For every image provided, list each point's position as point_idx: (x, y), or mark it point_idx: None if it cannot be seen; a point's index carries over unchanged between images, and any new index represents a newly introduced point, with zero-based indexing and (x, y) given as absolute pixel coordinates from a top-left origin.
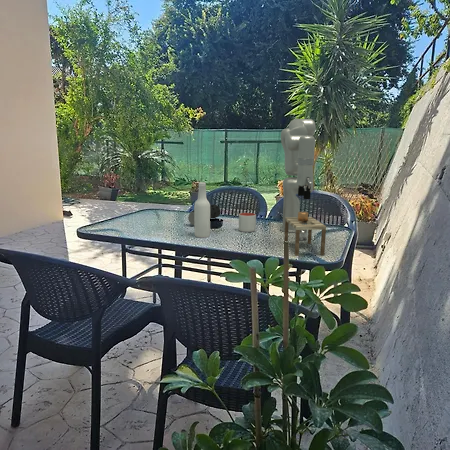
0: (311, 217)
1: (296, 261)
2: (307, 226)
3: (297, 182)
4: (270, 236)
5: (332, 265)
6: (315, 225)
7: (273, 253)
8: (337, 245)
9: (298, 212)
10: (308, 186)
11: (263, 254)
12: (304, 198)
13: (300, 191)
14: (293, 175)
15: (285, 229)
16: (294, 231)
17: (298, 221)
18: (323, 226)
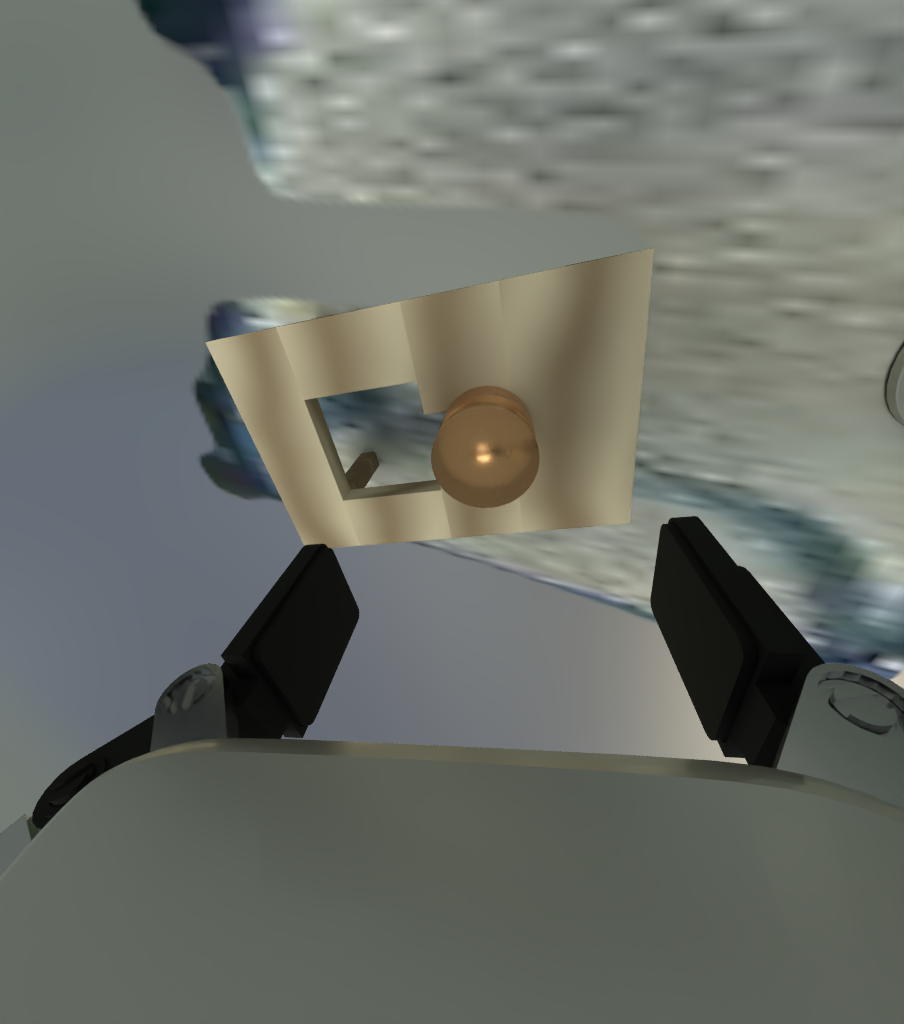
0: (607, 518)
1: (220, 313)
2: (252, 433)
3: (772, 896)
4: (856, 126)
5: (231, 468)
6: (308, 493)
7: (327, 153)
8: (531, 549)
9: (477, 411)
10: (22, 819)
11: (280, 49)
12: (306, 555)
13: (692, 612)
14: None
15: (587, 261)
16: (895, 376)
17: (429, 385)
18: (300, 534)
